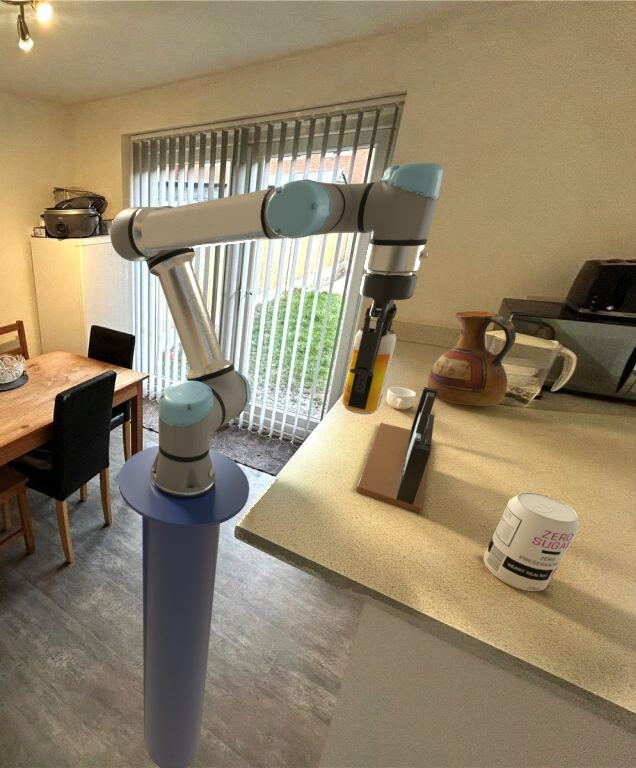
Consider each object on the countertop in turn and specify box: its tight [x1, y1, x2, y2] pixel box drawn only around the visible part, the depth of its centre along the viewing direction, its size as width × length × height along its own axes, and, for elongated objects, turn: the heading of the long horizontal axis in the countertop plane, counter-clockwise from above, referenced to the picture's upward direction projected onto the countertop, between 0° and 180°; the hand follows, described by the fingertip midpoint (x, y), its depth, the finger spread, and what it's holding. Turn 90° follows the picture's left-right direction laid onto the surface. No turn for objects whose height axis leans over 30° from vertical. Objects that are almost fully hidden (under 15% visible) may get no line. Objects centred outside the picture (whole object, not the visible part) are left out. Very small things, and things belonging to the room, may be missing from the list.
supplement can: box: [483, 491, 580, 592], centre depth 66 cm, size 8×8×15 cm
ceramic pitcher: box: [427, 310, 517, 407], centre depth 125 cm, size 20×20×30 cm
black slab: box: [402, 392, 435, 478], centre depth 89 cm, size 1×16×20 cm, turn 142°
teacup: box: [386, 386, 417, 410], centre depth 126 cm, size 10×8×5 cm
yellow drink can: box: [341, 326, 397, 416], centre depth 70 cm, size 6×6×15 cm
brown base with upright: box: [355, 386, 438, 514], centre depth 97 cm, size 12×37×15 cm, turn 142°
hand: (360, 400), depth 72 cm, fingers closed on yellow drink can, 6 cm apart
